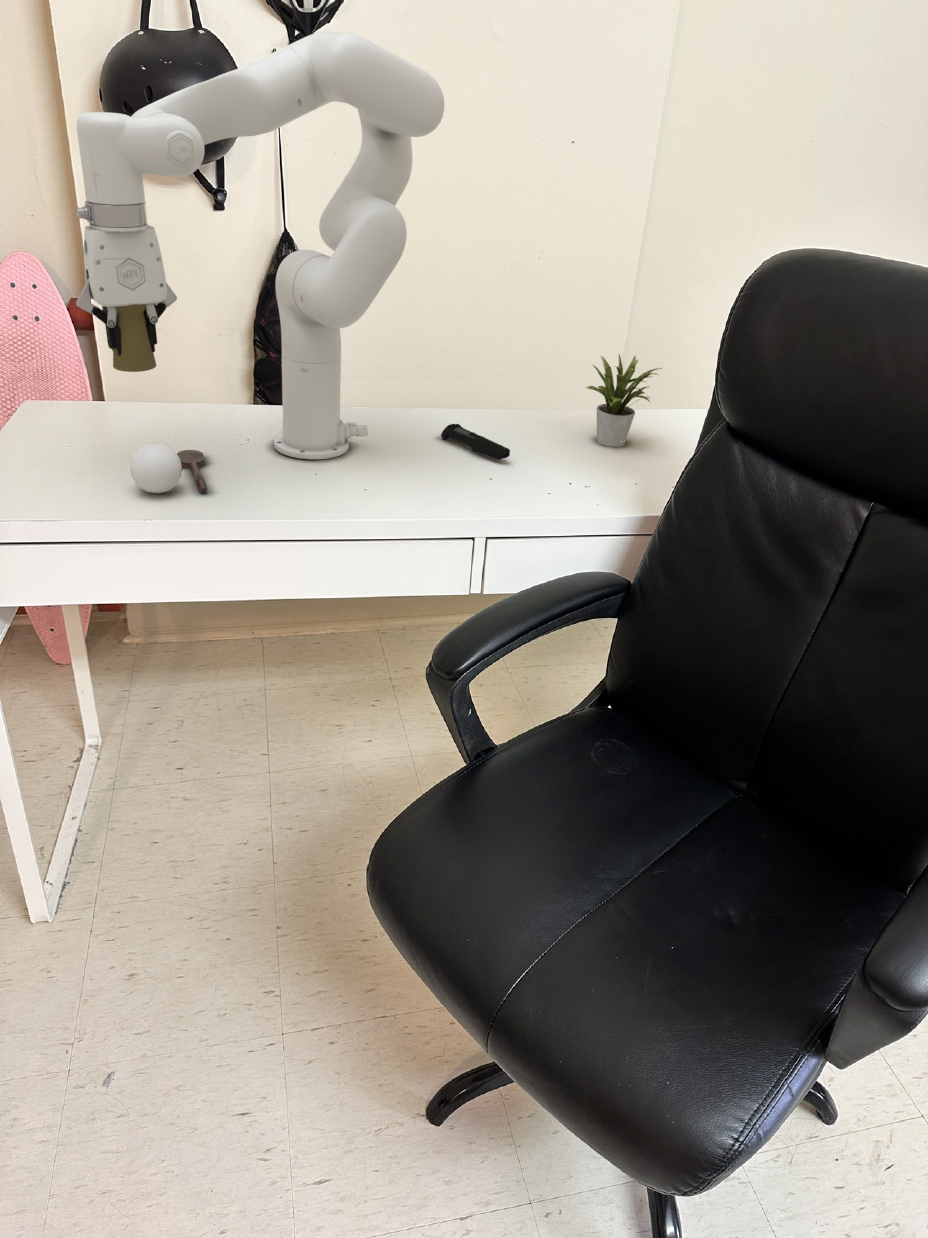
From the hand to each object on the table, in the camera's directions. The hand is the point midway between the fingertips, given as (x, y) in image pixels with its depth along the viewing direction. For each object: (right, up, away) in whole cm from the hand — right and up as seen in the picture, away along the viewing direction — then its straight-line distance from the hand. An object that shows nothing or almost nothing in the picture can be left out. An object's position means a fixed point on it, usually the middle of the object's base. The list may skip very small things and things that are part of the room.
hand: (133, 350), depth 137 cm
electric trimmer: (+50, -9, +30) cm, 59 cm away
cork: (0, -2, +1) cm, 2 cm away
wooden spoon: (+6, -16, +10) cm, 20 cm away
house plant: (+76, -7, +38) cm, 85 cm away
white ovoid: (+2, -20, +5) cm, 20 cm away
